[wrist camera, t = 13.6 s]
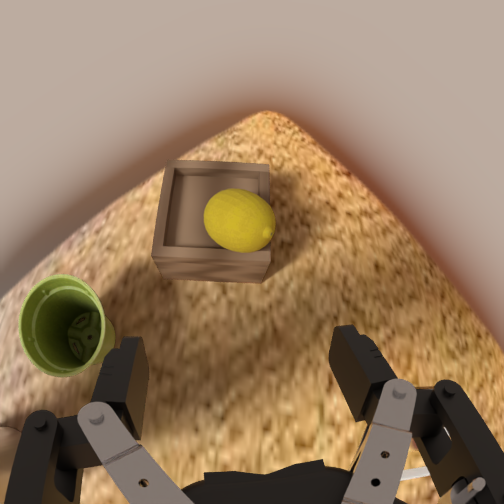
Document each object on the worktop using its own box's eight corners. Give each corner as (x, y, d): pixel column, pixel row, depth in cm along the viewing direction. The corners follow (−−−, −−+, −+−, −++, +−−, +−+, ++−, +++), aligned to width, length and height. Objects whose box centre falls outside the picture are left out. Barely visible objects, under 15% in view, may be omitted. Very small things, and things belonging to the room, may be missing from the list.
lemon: (217, 241, 34) (274, 271, 29) (178, 225, 29) (236, 257, 24) (239, 193, 33) (300, 214, 28) (203, 171, 29) (267, 190, 24)
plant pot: (101, 281, 34) (72, 254, 26) (147, 347, 32) (124, 338, 24) (45, 326, 32) (5, 310, 24) (85, 394, 29) (49, 396, 21)
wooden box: (163, 279, 36) (151, 255, 29) (174, 195, 40) (166, 159, 33) (260, 284, 37) (270, 261, 30) (260, 199, 41) (269, 164, 34)
